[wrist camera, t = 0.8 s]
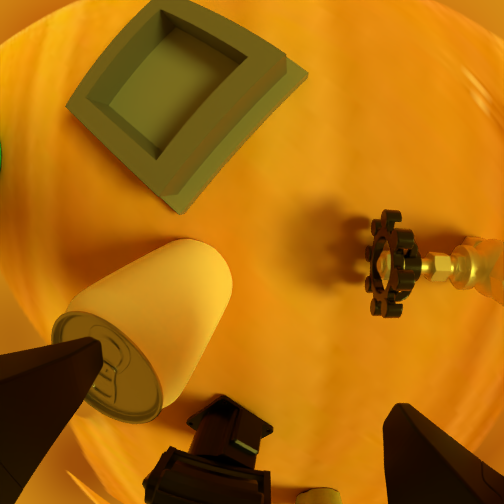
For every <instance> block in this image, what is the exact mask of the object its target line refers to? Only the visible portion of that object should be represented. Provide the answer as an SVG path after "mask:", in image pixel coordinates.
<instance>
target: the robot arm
mask: <svg viewBox="0 0 504 504" xmlns="http://www.w3.org/2000/svg"><path fill="white" fill-rule="evenodd" d="M102 367H103V354H102V345H101V342H100V341H99V340H97V339H95V338H93V337H90V336H87V337H83V338H79V339H74V340H70V341H66V342H61V343H57V344H52V345H47V346H43V347H39V348H34V349H28V350H24V351H19V352H13V353H8V354H3V355H0V504H15V502H16V500H17V499H18V497H19V496H20V494H21V492H22V491H23V488H24V487H25V485H26V484H27V483H28V481H29V479H30V478H31V476H32V475H33V473H34V472H35V470H36V469H37V467H38V465H39V464H40V463H41V461H42V459H43V458H44V456H45V455H46V454H47V452H48V451H49V449H50V448H51V446H52V445H53V443H54V442H55V440H56V439H57V437H58V436H59V435H60V433H61V432H62V430H63V429H64V427H65V426H66V424H67V423H68V422H69V420H70V419H71V418H72V416H73V415H74V413H75V412H76V411H77V409H78V408H79V406H80V405H81V404H82V402H83V400H84V399H85V397H86V395H87V394H88V392H89V390H90V388H91V386H92V385H93V383H94V381H95V379H96V378H97V376H98V374H99V373H100V371H101V369H102ZM224 401H226V402H224ZM187 425H188V426H190V427H191V428H193V429H194V430H196V433H195V436H194V438H193V441H192V443H191V446H190V448H189V451H188V453H187V452H184V451H181V450H178V449H176V448H174V447H172V446H170V447H169V448H168V450H167V452H164V453H162V456H161V458H160V460H159V461H158V463H157V465H156V466H155V468H154V469H153V470H152V471H151V472H150V473H149V474H148V476H147V477H146V478H145V479H144V480H143V483H142V485H143V487H144V489H145V503H146V504H271V480H270V471H265V470H264V471H260V470H254V468H255V462H256V456H257V454H258V453H259V447H260V441H261V439H262V438H264V437H266V436H267V435H269V434H271V433H273V427H272V426H271V425H269V424H268V423H266V422H265V421H263V420H261V419H260V418H258V417H257V416H255V415H254V414H252V413H250V412H249V411H247V410H246V409H244V408H243V407H241V406H240V405H238V404H237V403H236V402H234V401H233V400H231V399H230V398H228V397H226V396H221V397H219V398H218V399H217V400H215V401H214V402H212V403H211V404H209V405H208V406H207V407H205V408H204V409H202V410H201V411H199V412H198V413H196V414H195V415H193V416H192V417H190V418H189V419H188V420H187ZM267 429H269V430H267ZM383 446H384V470H385V479H386V487H387V497H388V504H504V476H502V475H501V474H499V473H498V472H496V471H495V470H493V469H492V468H491V467H489V466H488V465H487V464H485V463H484V462H483V461H481V460H480V459H479V458H478V457H476V456H475V455H474V454H472V453H471V452H470V451H468V450H467V449H466V448H465V447H463V446H462V445H461V444H459V443H458V442H457V441H456V440H454V439H453V438H452V437H450V436H449V435H448V434H447V433H445V432H444V431H443V430H441V429H440V428H439V427H438V426H436V425H435V424H434V423H433V422H431V421H430V420H429V419H428V418H426V417H425V416H424V415H423V414H421V413H420V412H419V411H418V410H416V409H415V408H414V407H413V406H411V405H410V404H408V403H397V404H395V405H394V407H393V408H392V410H391V411H390V413H389V415H388V416H387V418H386V419H385V421H384V424H383Z"/></svg>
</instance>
